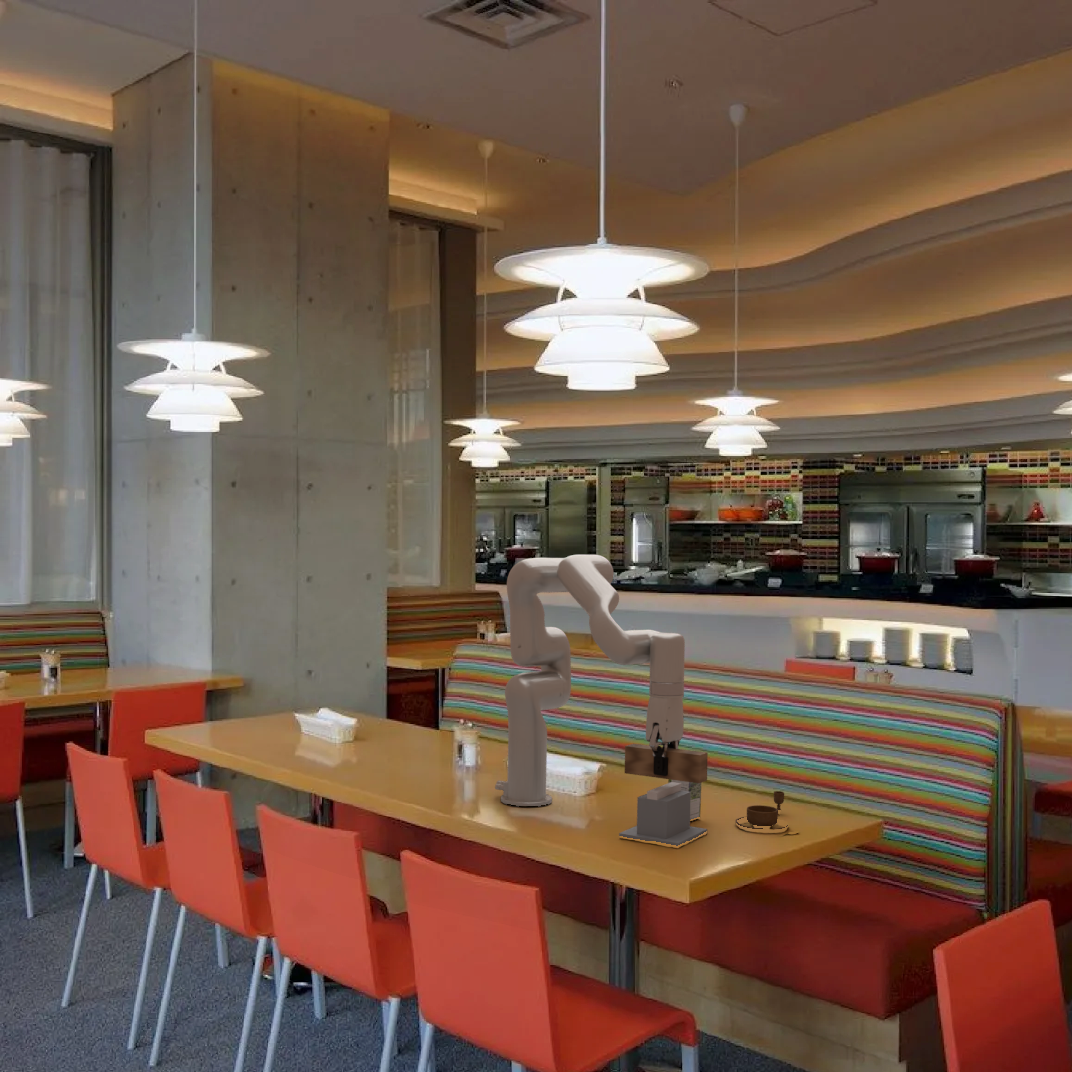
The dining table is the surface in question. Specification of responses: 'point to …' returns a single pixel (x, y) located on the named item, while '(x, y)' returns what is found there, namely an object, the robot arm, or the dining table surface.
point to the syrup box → (692, 796)
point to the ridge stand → (664, 816)
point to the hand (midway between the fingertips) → (665, 772)
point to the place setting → (764, 813)
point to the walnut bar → (679, 763)
